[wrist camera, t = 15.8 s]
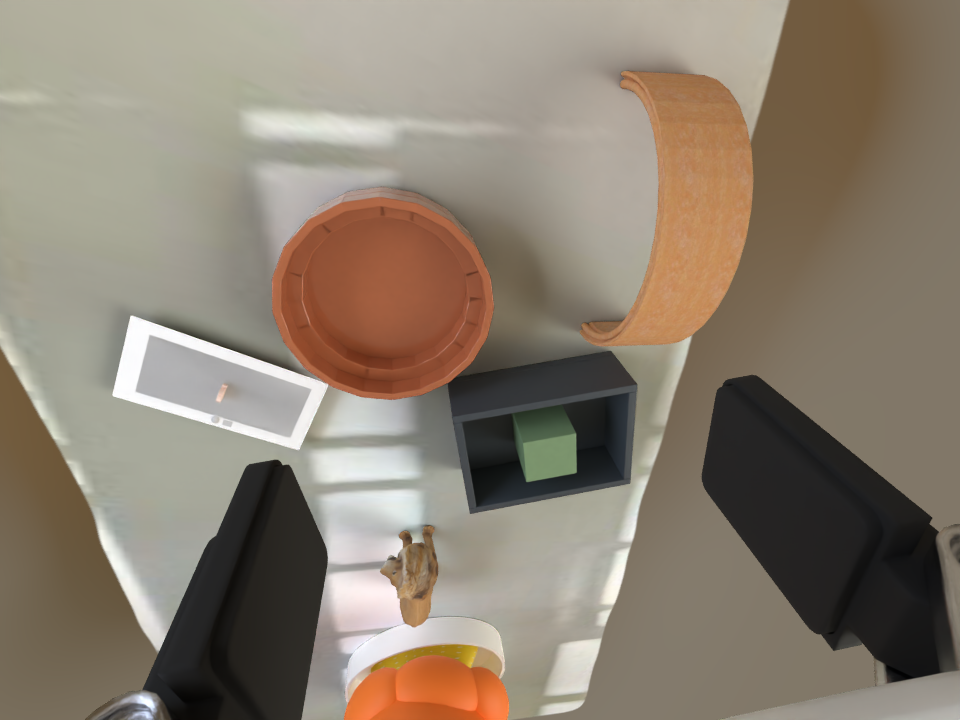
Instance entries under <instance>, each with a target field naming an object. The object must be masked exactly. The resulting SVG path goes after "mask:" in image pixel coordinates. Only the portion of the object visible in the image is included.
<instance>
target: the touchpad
mask: <svg viewBox="0 0 960 720" xmlns="http://www.w3.org/2000/svg"><path fill="white" fill-rule="evenodd" d="M328 386H329V385H328V384H327V383H324V382H321V381H318V380H316V379H313V378H310V377H307V376H304V375H301V374H298V373H296V372H293V371H290V370H287V369H284V368H281V367H278V366H275V365H273V364H270V363H267V362H264V361H261V360H258V359H255V358H252V357H250V356H247V355H244V354H241V353H238V352H235V351H232V350H230V349H227V348H224V347H221V346H218V345H215V344H212V343H209V342H207V341H204V340H201V339H198V338H195V337H192V336H189V335H186V334H184V333H181V332H178V331H175V330H172V329H169V328H166V327H163V326H161V325H158V324H155V323H152V322H149V321H146V320H143V319H141V318H138V317H135V316H132V315H131V317H130V321H129V326H128V330H127V334H126V339H125V343H124V347H123V352H122V356H121V360H120V365H119V369H118V373H117V378H116V382H115V386H114V391H113V395H112V396H115V397H118V398H121V399H125V400H128V401H132V402H135V403H139V404H142V405H145V406H149V407H152V408H156V409H159V410H162V411H166V412H169V413H173V414H176V415H180V416H183V417H186V418H190V419H193V420H197V421H200V422H204V423H207V424H210V425H214V426H217V427H221V428H224V429H228V430H231V431H234V432H238V433H241V434H245V435H248V436H252V437H255V438H258V439H262V440H265V441H269V442H272V443H276V444H279V445H282V446H286V447H289V448H293V449H296V450H299V449H300V446H301V444H302V442H303V440H304V438H305V436H306V433H307V431H308V429H309V427H310V425H311V423H312V420H313V418H314V416H315V414H316V412H317V409H318V407H319V405H320V403H321V401H322V399H323V396H324V394H325V392H326V390H327V388H328Z"/></svg>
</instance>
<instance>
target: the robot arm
mask: <svg viewBox="0 0 960 720" xmlns="http://www.w3.org/2000/svg"><path fill="white" fill-rule="evenodd" d="M702 482H703V486H704V488H705V490H706V491H707V493H708V494H709V496H710V497H711V498H712V500H713V501H714V502H715V504H716V505H717V506H718V508H719V509H720V510H721V512H722V513H723V514H724V516H725V517H726V518H727V520H728V521H729V522H730V524H731V525H732V526H733V528H734V529H735V530H736V532H737V533H738V534H739V536H740V537H741V538H742V540H743V541H744V542H745V544H746V545H747V546H748V548H749V549H750V550H751V552H752V553H753V554H754V556H755V557H756V558H757V560H758V561H759V562H760V564H761V565H762V566H763V568H764V569H765V570H766V572H767V573H768V574H769V576H770V577H771V578H772V580H773V581H774V582H775V584H776V585H777V586H778V588H779V589H780V590H781V592H782V593H783V594H784V596H785V597H786V599H787V600H788V601H789V603H790V604H791V605H792V607H793V608H794V609H795V611H796V612H797V613H798V614H799V616H800V617H801V619H802V620H803V621H804V623H805V624H806V625H807V626H808V627H809V629H811V630H812V631H813V632H814V633H816V634H821V635H822V636H823V638H824V639H825V640H826V641H827V643H828V644H829V645H830V647H831V648H832V649H833V651H835V650H840V649H844V648H849V647H853V646H858V645H861V644H862V643H863V644H864V645H865V647H866V648H867V649H868V650H869V651H870V653H871V654H872V655H873V656H874V671H875V686H873V687H868V688H863V689H858V690H853V691H849V692H844V693H839V694H835V695H830V696H825V697H821V698H816V699H812V700H807V701H802V702H798V703H793V704H788V705H784V706H779V707H775V708H770V709H765V710H761V711H756V712H751V713H747V714H742V715H738V716H733V717H729V718H724V719H719V720H960V524H954V525H951V526H948V527H945V528H943V529H942V530H941V531H940V532H938V531H937V530H936V529H935V528H934V527H932V526H931V525H930V524H929V523H930V521H931V519H932V517H931V516H930V515H928V514H927V513H926V512H925V511H924V510H922V509H921V508H920V507H919V506H917V505H916V504H915V503H914V502H912V501H911V500H909V498H907V497H906V496H905V495H904V494H902V493H901V492H900V491H899V490H898V489H896V488H895V487H894V486H892V485H891V484H890V483H889V482H888V481H887V480H885V479H884V478H883V477H881V476H880V475H879V474H878V473H877V472H875V471H874V470H873V469H872V468H870V467H869V466H868V465H867V464H866V463H864V462H863V461H862V460H861V459H859V458H858V457H857V456H856V455H854V454H853V453H852V452H851V451H850V450H848V449H847V448H846V447H845V446H843V445H842V444H841V443H840V442H838V441H837V440H836V439H835V438H833V437H832V436H831V435H830V434H829V433H827V432H826V431H825V430H824V429H822V428H821V427H820V426H819V425H817V424H816V423H815V422H814V421H813V420H811V419H810V418H809V417H808V416H806V415H805V414H804V413H803V412H801V411H800V410H799V409H798V408H796V407H795V406H794V405H793V404H792V403H790V402H789V401H788V400H787V399H785V398H784V397H783V396H782V395H780V394H779V393H778V392H777V391H775V390H774V389H773V388H772V387H771V386H769V385H768V384H767V383H766V382H764V381H763V380H762V379H761V378H759V377H758V376H756V375H749V376H743V377H738V378H732V379H728V380H726V381H725V382H724V383H723V386H722V387H720V388H719V389H718V390H717V393H716V398H715V403H714V409H713V414H712V420H711V426H710V432H709V437H708V443H707V449H706V454H705V459H704V465H703V471H702ZM327 563H328V556H327V549H326V546H325V544H324V541H323V539H322V537H321V534H320V532H319V530H318V528H317V525H316V523H315V521H314V518H313V516H312V514H311V512H310V509H309V507H308V505H307V502H306V500H305V498H304V496H303V493H302V491H301V489H300V486H299V484H298V482H297V480H296V477H295V475H294V473H293V470H292V468H291V467H290V466H289V465H282V463H281V462H280V461H279V460H271V461H265V462H260V463H254V464H249V465H248V466H247V467H246V468H245V470H244V472H243V475H242V477H241V479H240V482H239V484H238V486H237V489H236V491H235V493H234V496H233V498H232V500H231V503H230V505H229V507H228V510H227V512H226V514H225V517H224V519H223V521H222V524H221V526H220V528H219V531H218V533H217V535H216V536H215V537H213V538H212V539H211V540H210V541H209V542H208V544H207V546H206V548H205V549H204V552H203V554H202V556H201V558H200V561H199V563H198V565H197V567H196V570H195V572H194V574H193V577H192V579H191V581H190V583H189V586H188V588H187V590H186V592H185V595H184V597H183V599H182V601H181V604H180V606H179V608H178V610H177V613H176V615H175V617H174V620H173V622H172V624H171V626H170V629H169V631H168V633H167V635H166V638H165V640H164V642H163V644H162V647H161V649H160V651H159V653H158V656H157V658H156V660H155V663H154V665H153V667H152V669H151V672H150V674H149V676H148V678H147V681H146V683H145V685H144V687H143V690H139V691H131V692H128V693H125V694H123V695H121V696H118V697H115V698H113V699H112V700H110V701H108V702H107V703H105V704H104V705H102V706H101V707H99V708H98V709H96V710H95V711H94V712H93V713H92V714H90V715H89V716H88V717H87V718H86V719H85V720H301V718H302V712H303V707H304V701H305V695H306V689H307V683H308V677H309V671H310V665H311V659H312V653H313V647H314V641H315V635H316V629H317V623H318V617H319V611H320V605H321V599H322V594H323V588H324V582H325V576H326V570H327Z"/></svg>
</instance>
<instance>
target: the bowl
mask: <svg viewBox="0 0 960 720" xmlns="http://www.w3.org/2000/svg"><path fill="white" fill-rule="evenodd" d="M272 311H273V315H274V317H275V320H276V323H277V325H278V328H279V331H280V333H281V336H282V339H283V341H284V343H285V344H286V346H287V347H288V348H289V349H290V350H291V352H292V353H293V354H294V355H295V357H296V358H297V359H298V360H299V362H300V363H301V364H302V365H303V367H304V368H305V369H307V370H308V371H309V372H311V373H312V374H314V375H315V376H317V377H318V378H320V379H321V380H322V381H324V382H325V383H327V384H328V385H330V386H332V387H334V388H337V389H339V390H342V391H345V392H348V393H351V394H354V395H356V396H359V397H365V398H376V399H388V400H392V399H393V400H395V399H401V398H406V397H412V396H418V395H422V394H425V393H427V392H429V391H432V390H434V389H436V388H438V387H440V386H442V385H444V384H447V383H449V382H450V381H452V380H453V379H454V378H455V377H456V376H457V375H458V374H460V373H461V372H462V371H463V370H464V369H465V368H466V367H468V366H469V365H470V364H471V363H472V362H473V360H474V359H475V357H476V355H477V354H478V352H479V350H480V349H481V347H482V345H483V344H484V342H485V340H486V339H487V337H488V333H489V328H490V324H491V320H492V315H493V311H494V302H493V293H492V284H491V277H490V274H489V272H488V270H487V268H486V266H485V263H484V261H483V259H482V257H481V255H480V253H479V251H478V248H477V246H476V244H475V242H474V240H473V238H472V236H471V234H470V232H469V231H468V230H467V229H466V228H465V227H464V226H463V225H462V224H461V223H460V222H459V221H458V220H457V219H456V218H455V217H454V216H453V215H452V213H451V212H450V211H449V210H447V209H446V208H444V207H442V206H441V205H439V204H437V203H435V202H433V201H431V200H429V199H428V198H426V197H424V196H422V195H420V194H418V193H415V192H409V191H404V190H398V189H393V188H387V187H376V188H369V189H362V190H356V191H349V192H346V193H344V194H342V195H340V196H338V197H337V198H335V199H333V200H331V201H329V202H327V203H325V204H323V205H321V206H319V207H318V208H317V209H316V210H315V211H314V212H313V213H312V214H311V215H310V216H309V217H308V219H307V220H306V221H305V222H304V223H303V224H302V225H301V226H300V228H299V229H298V230H297V231H296V232H295V233H294V235H293V236H292V237H291V238H290V240H289V241H288V242H287V243H286V245H285V246H284V248H283V250H282V253H281V256H280V259H279V261H278V264H277V267H276V269H275V272H274V275H273V277H272Z"/></svg>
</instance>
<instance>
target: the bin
mask: <svg viewBox="0 0 960 720" xmlns="http://www.w3.org/2000/svg"><path fill="white" fill-rule="evenodd" d="M448 390H449V397H450V404H451V411H452V418H453V424H454V429H455V435H456V440H457V445H458V451H459V456H460V462H461V467H462V473H463V478H464V484H465V489H466V495H467V500H468V505H469V511H470V514H472V513H477V512H483V511H488V510H493V509H499V508H504V507H509V506H514V505H520V504H525V503H530V502H536V501H541V500H546V499H551V498H557V497H562V496H567V495H573V494H578V493H583V492H588V491H594V490H599V489H604V488H610V487H615V486H620V485H626V484H630V480H631V466H632V451H633V437H634V423H635V409H636V394H637V383H636V382H635V381H634V380H633V378H632V377H631V376H630V374H629V373H628V372H627V371H626V369H625V368H624V367H623V366H622V364H621V363H620V362H619V360H618V359H617V358H616V357H615V355H614V354H613V353H612V352H611V351H608V352H602V353H596V354H590V355H584V356H578V357H573V358H567V359H561V360H555V361H549V362H543V363H538V364H532V365H526V366H520V367H514V368H508V369H503V370H497V371H491V372H485V373H479V374H473V375H468V376H462V377H456V378H454V379H453V380H452V381H450V382H449V383H448ZM561 404H562V406H563V408H564V410H565V412H566V414H567V416H568V418H569V420H570V422H571V424H572V426H573V428H574V430H575V432H576V462H577V473H574V474H568V475H563V476H558V477H552V478H547V479H542V480H536V481H531V482H526V479H525V476H524V473H523V469H522V466H521V463H520V460H519V456H518V453H517V450H516V446H515V443H514V436H513V426H512V416H511V413H516V412H522V411H527V410H533V409H539V408H544V407H550V406H556V405H561Z"/></svg>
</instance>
